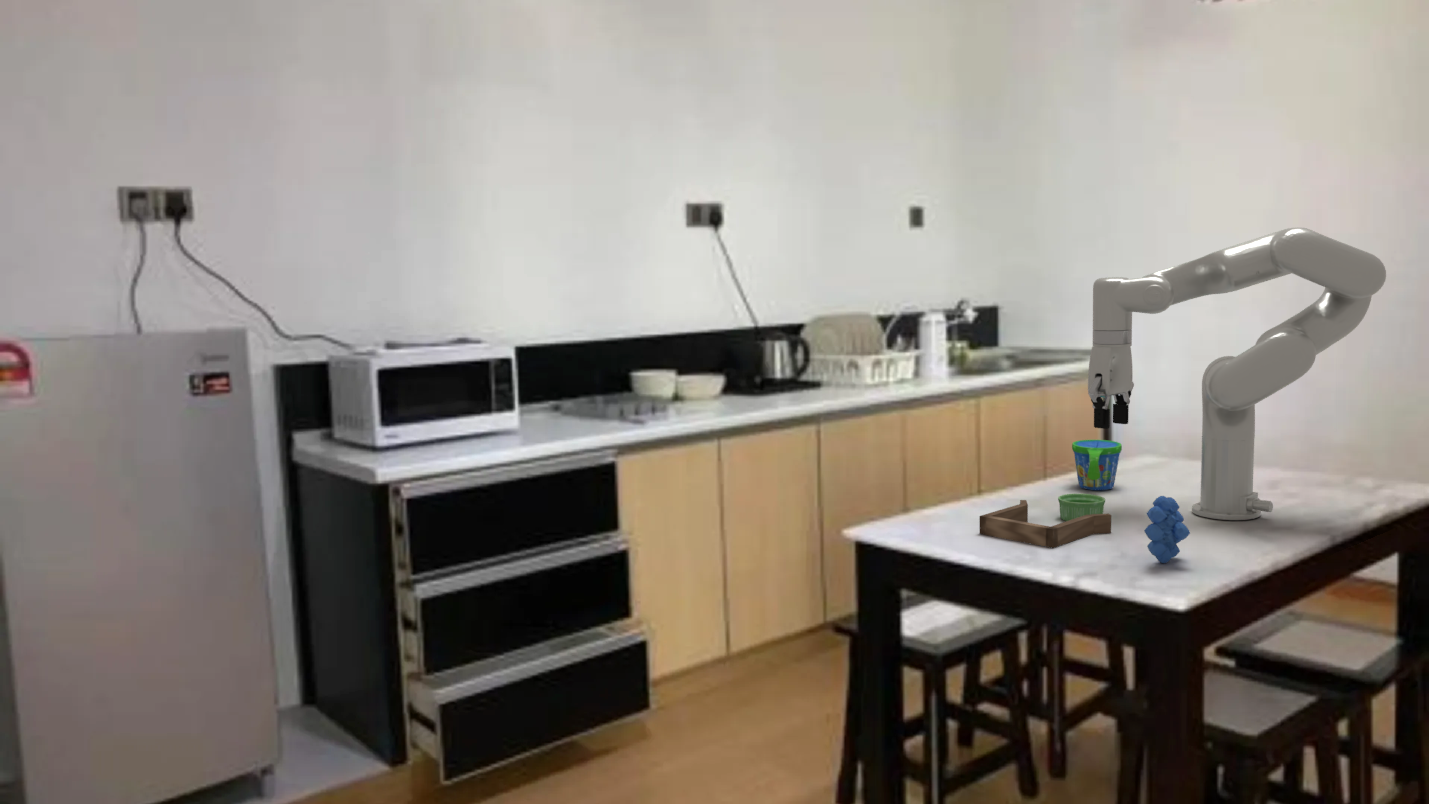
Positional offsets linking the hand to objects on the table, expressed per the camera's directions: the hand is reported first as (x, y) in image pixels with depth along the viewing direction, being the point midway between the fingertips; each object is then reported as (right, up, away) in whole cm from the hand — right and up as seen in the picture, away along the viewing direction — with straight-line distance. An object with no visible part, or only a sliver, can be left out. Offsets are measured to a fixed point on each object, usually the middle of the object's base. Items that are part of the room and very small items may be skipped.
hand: (1111, 425), depth 232 cm
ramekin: (-8, -19, -5) cm, 21 cm away
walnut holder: (-18, -20, -14) cm, 31 cm away
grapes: (-3, -23, -38) cm, 45 cm away
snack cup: (+5, -15, +23) cm, 28 cm away
